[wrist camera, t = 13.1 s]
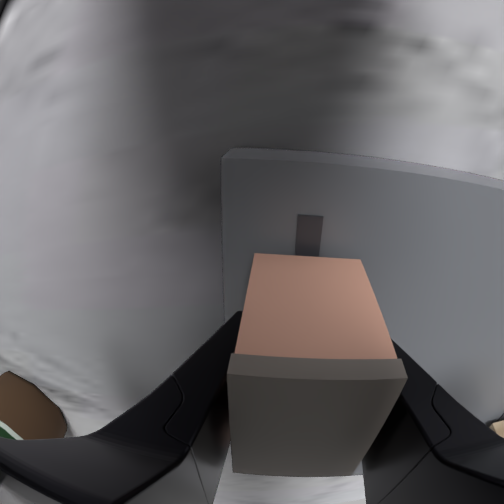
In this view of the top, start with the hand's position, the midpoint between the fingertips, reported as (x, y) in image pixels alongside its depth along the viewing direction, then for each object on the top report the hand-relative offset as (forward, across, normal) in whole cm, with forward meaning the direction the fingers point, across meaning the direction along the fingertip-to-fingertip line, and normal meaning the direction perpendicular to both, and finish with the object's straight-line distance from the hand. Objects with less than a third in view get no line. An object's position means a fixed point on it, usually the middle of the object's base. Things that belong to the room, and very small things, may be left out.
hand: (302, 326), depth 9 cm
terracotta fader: (+1, 0, 0) cm, 1 cm away
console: (+3, -7, +4) cm, 9 cm away
